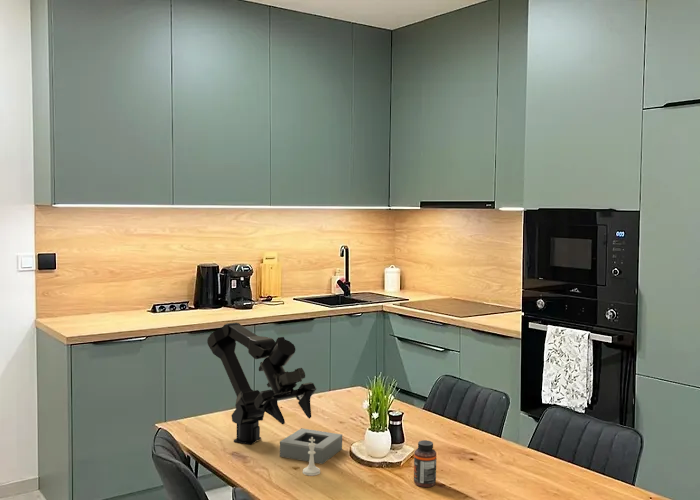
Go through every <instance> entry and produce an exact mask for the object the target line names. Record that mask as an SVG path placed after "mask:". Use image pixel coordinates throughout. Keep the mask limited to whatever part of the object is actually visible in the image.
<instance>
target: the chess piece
mask: <svg viewBox="0 0 700 500" xmlns="http://www.w3.org/2000/svg"><path fill="white" fill-rule="evenodd" d="M309 441H311V443H309V444H308V446H309V449H310V451H308V454H310V459H309V462H308V465H307V466H306V467H304V468H303V469H302V474H303V475H305V476H310V477H311V476H313V477H314V476H317V475H320V474H321V469H320V468H319V467H317V466H316V464H315V463H314V455H313V454H315V453H316V452H315V451H314V448H315V443H313V441H315V439H313V437H311V439H309Z"/></svg>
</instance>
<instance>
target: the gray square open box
mask: <svg viewBox="0 0 700 500" xmlns="http://www.w3.org/2000/svg"><path fill="white" fill-rule="evenodd" d="M311 437H313V439H315V441H313V443H315V448H314V451H315V452H316V453H315V454H313V455H314V464H320V465H323V464H325V462H327V461H329V459H331V458H332V457H334V456H335V455H336V454H337V453H339V452H341V451H342V450H343V434H341V433H336V432H335V433H334V432H329V431H328V432H327V431H322V430H315V429H309V428H299V429H298V430H297V431H295V432H293V433H292V434H290V435H288V436H287V437H285V438H283V439H281V440H280V441H279V457H281V458H285V459H286V458H287V459H292V460H297V461H304V462H308V463H309V459H310V454H308V451H310V449H309V446H308V444H309V443H311V441H309V439H311Z"/></svg>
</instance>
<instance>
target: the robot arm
mask: <svg viewBox="0 0 700 500" xmlns="http://www.w3.org/2000/svg"><path fill="white" fill-rule="evenodd" d="M237 343H239V344H241V345H242V346H243V347H245V348H247V351H248V354H249V355H250V356H251V357H252V358H253V359H254V360H259V359H263V360H262V361H260V365H259V367H258V371H259V372H263V373H264V376H265V377H266V380H267V383H266V386H267V388H271V389H267V390H262V391H261V390H260V391H259V389H256V390H253V389H252V388H251V386H250V384H249V381H248V379H247V377H246V374H245V372H244V370H243V368H242V365H241V363H240V361H239V359H238V357H237V354H236V352H235V351H236V345H237ZM207 346H208V347H209V349H210V351H211V352H212V354H213V355H214V356H215V357H217V358H219V359H220V360H221V362H222V366H223V368H224V370H225V372H226V374H227V377H228V379H229V382H230V384H231V387H232V389H233V390H234V393H235V395H236V400H235V410H234V411H233V412H232V414H231V421H232V423H234V424H236V438H235V439H233V442H234V443H238V444H239V443H240V444H245V445H253V444H254V443H257V442H258V441H260V440H261V439H262V437H261V433H260V432H261V429H260V428H261V426H260V423H259V422H260V421H264V416H265V413H266V414H268V415H270V416H271V417H273V418H274V419H275V420H276V421H278V422H279V423H280V424H281V425H284V424H285V423H286V422H285V418H284V416H283V413H282V410H280V407H279V404H278V400H279V401H280V400H285V399H289V398H290V399H291V398H296V400H298V402H297V403H298V405H299V407H300V408H301V410H302V411H303V413H304V414H305V416H306V417H307V418H308V419H309V420H310V419H311V418H312V408H311V407H312V406H311V398H312V396H313V395H314V393H315V392H316V391H317V387H316V385H315V384H314V382H306V383H301V382H303V381H302V380H303V379H305V378H306V372H305V371H304V369H303V367H299V368H296V369H294V370H293V371H286V370H285V368H284V366H286V365H287V363H289V361H290V360H291V358H292V357H293V356H294V354H295V353H296V346H295V345H294V343H292V342H291V341H290V340H288V339H285V337H284V336H279V337H277V338H276V340H274V338H272V337H267V336H263V335H262V336H259V335H257V334H255V333H254V332H252V331H250V330H249V329H248V328H246V327H244V326H242V325H241V324H240V323H239V322H229V323H225V324H224V325H223V326H221V327H220V328H218V329H217V330H214V331H213V332H210V334H209V336H208V337H207ZM299 382H300V383H301V385H300V386H299V387H298V388H296V387H297V383H299ZM294 388H296V389H294Z"/></svg>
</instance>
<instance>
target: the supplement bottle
mask: <svg viewBox="0 0 700 500" xmlns="http://www.w3.org/2000/svg"><path fill="white" fill-rule="evenodd" d="M413 453H414V455H413V456H414V457H413V458H414V459H413V460H414V461H413V482H414V484H415V485H416V486H418V487H422V488H431V487H433V486H435V485H436V483H437V451H436V450H435V449H434V443H433V441H431V440H424V439H423V440H419V441H418V442H417V448H416V449H415V450H414V452H413Z"/></svg>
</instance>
